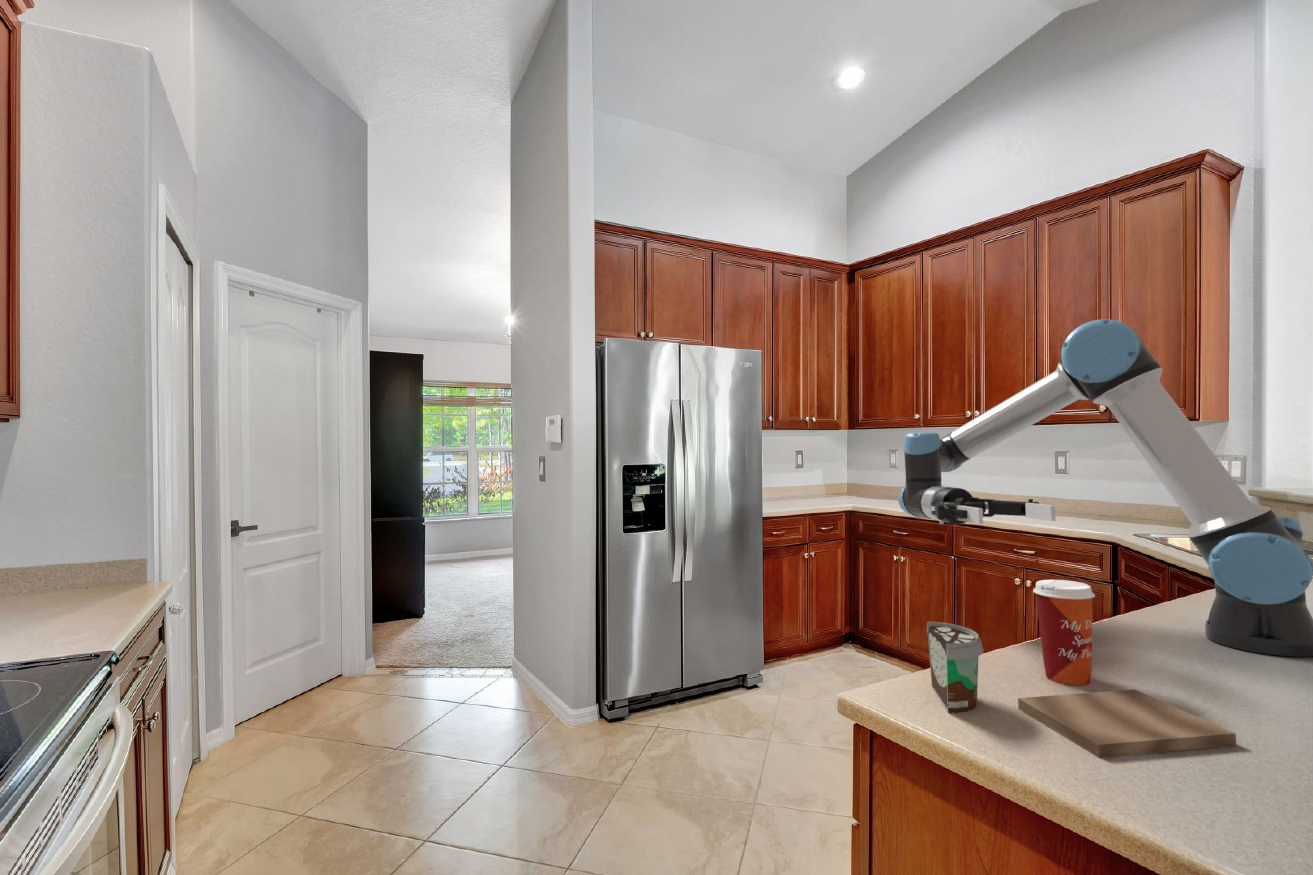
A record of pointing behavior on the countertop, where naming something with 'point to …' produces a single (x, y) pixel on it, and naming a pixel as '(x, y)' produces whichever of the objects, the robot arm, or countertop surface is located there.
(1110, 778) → the countertop surface
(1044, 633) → the coffee cup
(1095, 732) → the walnut board
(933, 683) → the food container
